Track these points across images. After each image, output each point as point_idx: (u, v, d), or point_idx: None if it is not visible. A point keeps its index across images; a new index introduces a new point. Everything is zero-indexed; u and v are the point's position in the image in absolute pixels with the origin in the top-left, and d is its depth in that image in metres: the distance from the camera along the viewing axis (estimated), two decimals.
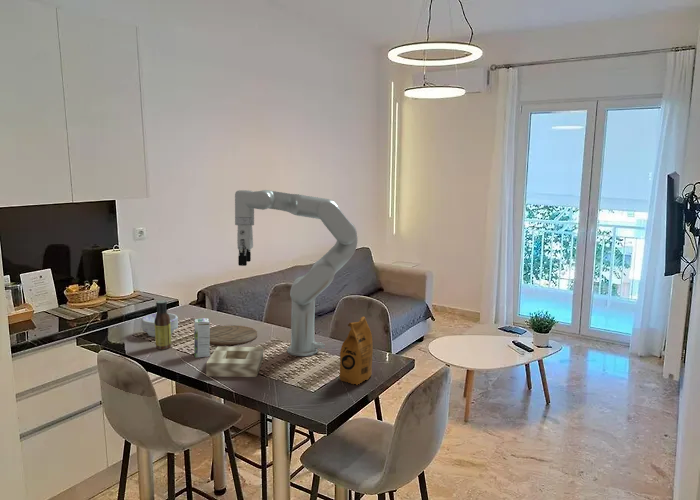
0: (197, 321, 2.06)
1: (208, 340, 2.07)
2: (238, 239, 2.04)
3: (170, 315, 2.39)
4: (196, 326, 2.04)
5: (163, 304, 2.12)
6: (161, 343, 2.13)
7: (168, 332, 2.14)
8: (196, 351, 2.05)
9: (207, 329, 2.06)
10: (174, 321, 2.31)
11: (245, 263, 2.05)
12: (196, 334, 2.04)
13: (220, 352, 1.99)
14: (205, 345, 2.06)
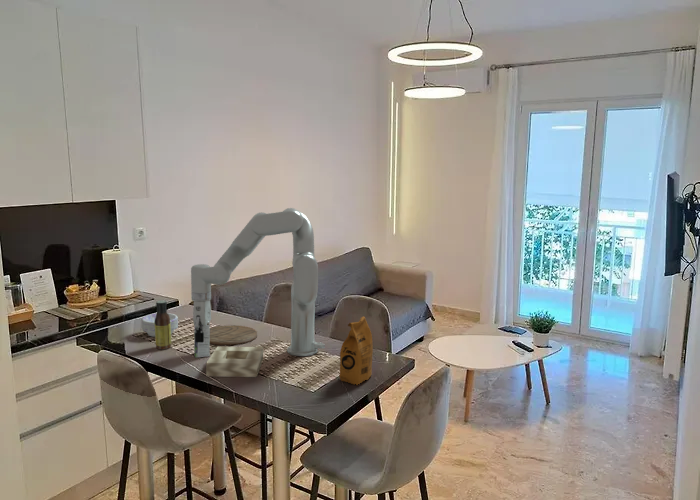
0: None
1: (208, 340, 2.07)
2: (194, 315, 2.02)
3: (170, 315, 2.39)
4: None
5: (163, 304, 2.12)
6: (161, 343, 2.13)
7: (168, 332, 2.14)
8: (196, 351, 2.05)
9: (207, 329, 2.06)
10: (174, 321, 2.31)
11: (202, 340, 2.04)
12: None
13: (220, 352, 1.99)
14: (205, 345, 2.06)
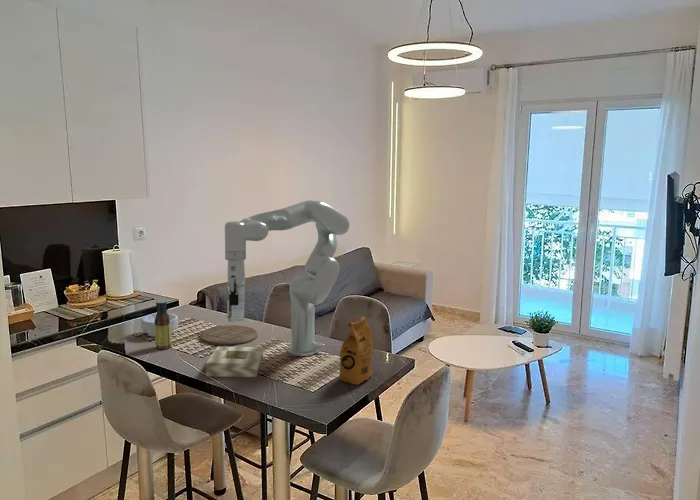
0: None
1: (243, 303, 1.92)
2: (228, 275, 1.87)
3: (170, 315, 2.39)
4: None
5: (163, 304, 2.12)
6: (161, 343, 2.13)
7: (168, 332, 2.14)
8: (230, 315, 1.91)
9: (241, 291, 1.91)
10: (174, 321, 2.31)
11: (237, 302, 1.89)
12: None
13: (220, 352, 1.99)
14: (240, 309, 1.91)
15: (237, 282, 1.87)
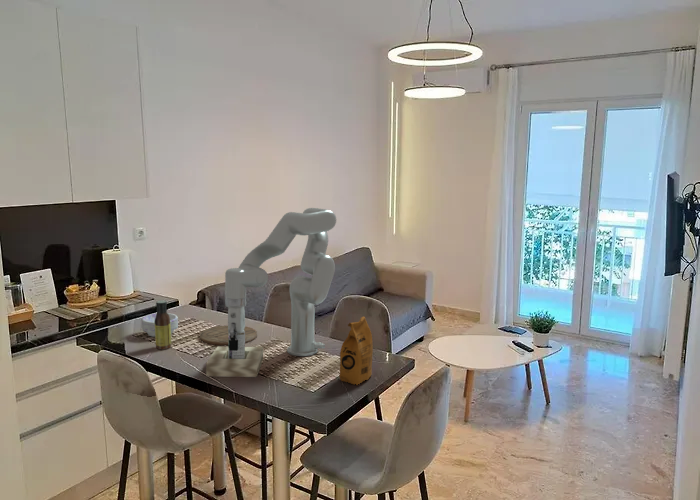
0: None
1: (243, 351, 1.94)
2: (229, 322, 1.89)
3: (170, 315, 2.39)
4: None
5: (163, 304, 2.12)
6: (161, 343, 2.13)
7: (168, 332, 2.14)
8: None
9: (242, 339, 1.93)
10: (174, 321, 2.31)
11: (236, 348, 1.91)
12: None
13: (220, 352, 1.99)
14: (240, 356, 1.94)
15: (237, 327, 1.89)
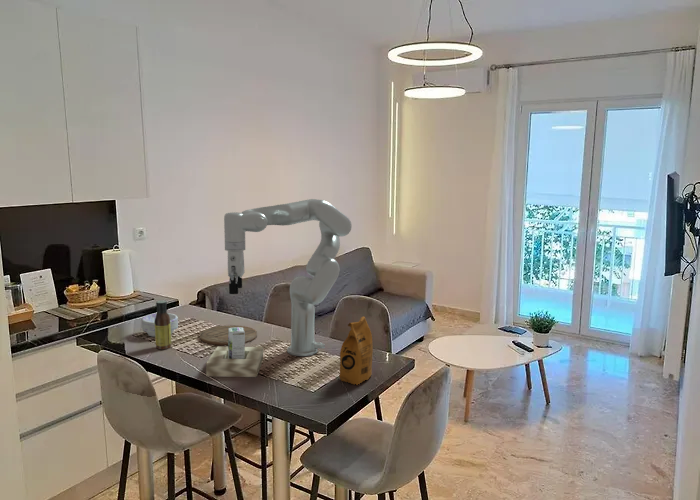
0: (231, 330, 1.94)
1: (243, 351, 1.94)
2: (228, 266, 1.89)
3: (170, 315, 2.39)
4: (230, 336, 1.92)
5: (163, 304, 2.12)
6: (161, 343, 2.13)
7: (168, 332, 2.14)
8: None
9: (242, 339, 1.93)
10: (174, 321, 2.31)
11: (236, 291, 1.90)
12: (230, 344, 1.92)
13: (220, 352, 1.99)
14: (240, 356, 1.94)
15: (237, 270, 1.89)
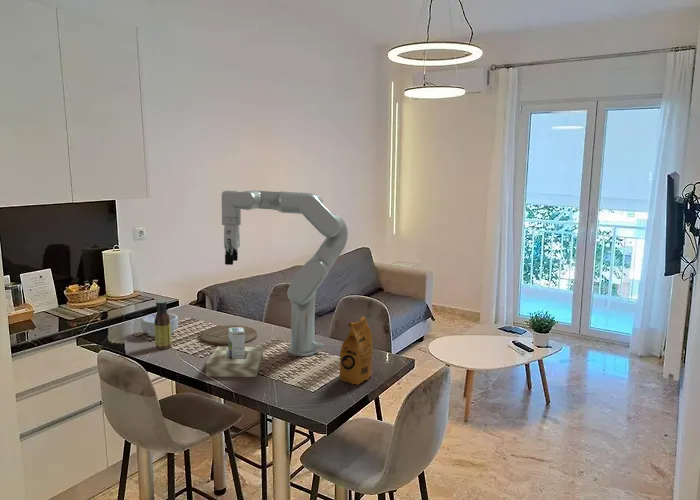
0: (231, 330, 1.94)
1: (243, 351, 1.94)
2: (225, 238, 2.08)
3: (170, 315, 2.39)
4: (230, 336, 1.92)
5: (163, 304, 2.12)
6: (161, 343, 2.13)
7: (168, 332, 2.14)
8: None
9: (242, 339, 1.93)
10: (174, 321, 2.31)
11: (231, 262, 2.09)
12: (230, 344, 1.92)
13: (220, 352, 1.99)
14: (240, 356, 1.94)
15: (232, 243, 2.08)
